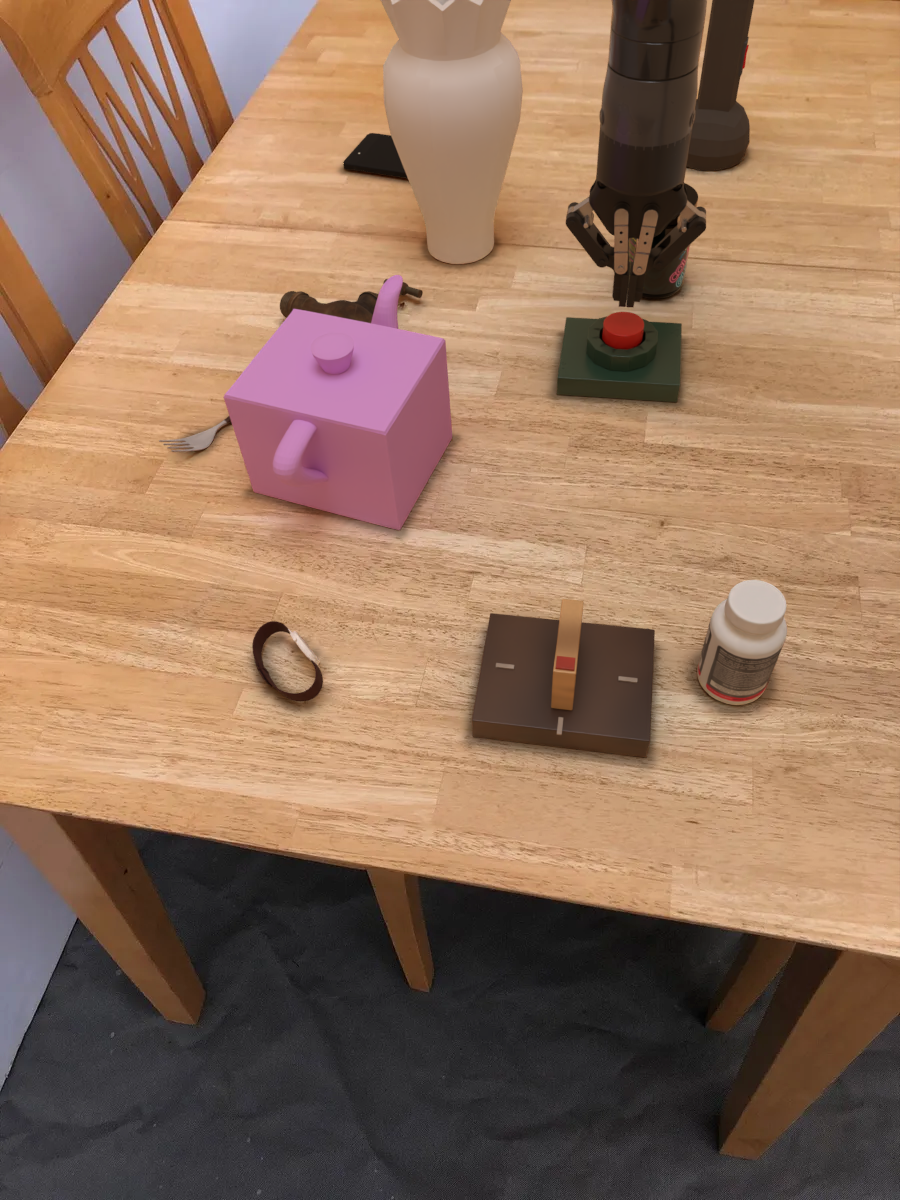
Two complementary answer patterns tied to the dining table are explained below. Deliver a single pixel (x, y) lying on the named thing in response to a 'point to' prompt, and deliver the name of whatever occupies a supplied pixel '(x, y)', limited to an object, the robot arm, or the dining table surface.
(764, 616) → the pill bottle
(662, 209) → the robot arm
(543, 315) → the dining table surface
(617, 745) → the panel
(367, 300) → the faucet
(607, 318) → the button
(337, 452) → the teapot
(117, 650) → the dining table surface
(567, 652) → the handle
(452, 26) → the vase
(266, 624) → the watch
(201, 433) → the fork
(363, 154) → the cell phone
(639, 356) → the switch box
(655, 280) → the supplement container
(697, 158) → the flashlight
